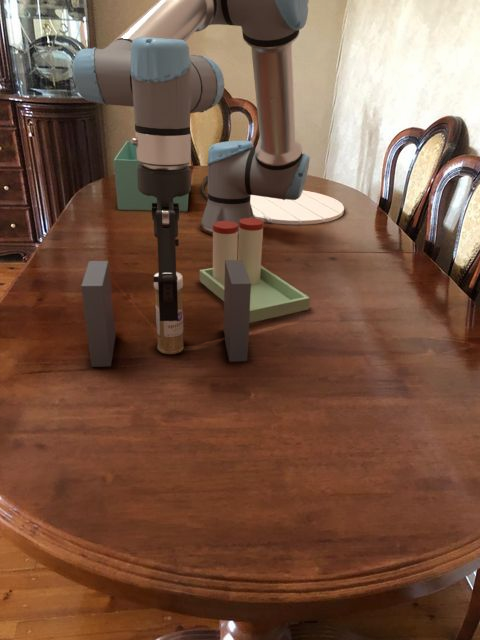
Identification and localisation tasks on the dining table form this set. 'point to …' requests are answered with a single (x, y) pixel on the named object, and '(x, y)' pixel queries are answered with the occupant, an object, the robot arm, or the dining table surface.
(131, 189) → the box
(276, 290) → the tray
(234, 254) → the spice bottle
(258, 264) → the spice bottle
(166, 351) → the sprinkles bottle
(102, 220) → the dining table surface
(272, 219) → the lazy susan
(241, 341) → the grey upright slab
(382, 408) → the dining table surface
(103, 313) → the grey book front
